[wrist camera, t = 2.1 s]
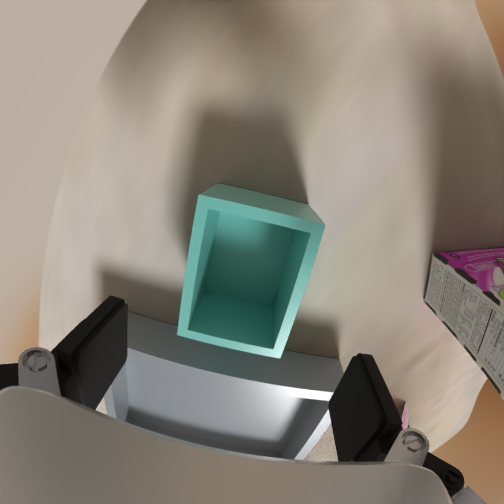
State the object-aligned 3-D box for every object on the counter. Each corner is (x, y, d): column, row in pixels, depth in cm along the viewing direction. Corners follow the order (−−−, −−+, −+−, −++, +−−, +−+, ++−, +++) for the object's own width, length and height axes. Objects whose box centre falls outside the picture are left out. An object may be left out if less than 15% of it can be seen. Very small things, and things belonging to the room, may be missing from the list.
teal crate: (218, 183, 20) (198, 194, 14) (308, 204, 20) (325, 224, 14) (197, 291, 22) (176, 334, 17) (277, 310, 22) (280, 358, 17)
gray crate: (119, 308, 23) (95, 336, 19) (339, 359, 24) (349, 393, 20) (126, 414, 29) (113, 440, 24) (286, 450, 29) (287, 479, 25)
